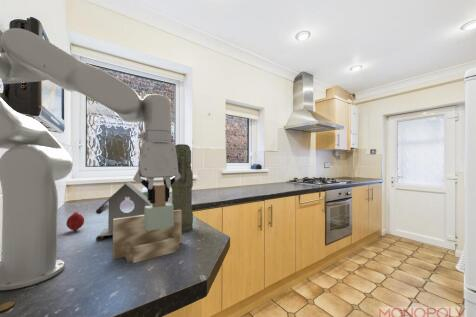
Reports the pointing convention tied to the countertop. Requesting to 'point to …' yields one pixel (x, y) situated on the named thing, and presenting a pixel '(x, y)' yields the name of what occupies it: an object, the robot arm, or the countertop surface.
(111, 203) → the grey nesting box
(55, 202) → the robot arm
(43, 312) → the countertop surface
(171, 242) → the wooden box
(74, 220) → the onion
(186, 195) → the green carved statue
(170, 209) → the green and brown block
